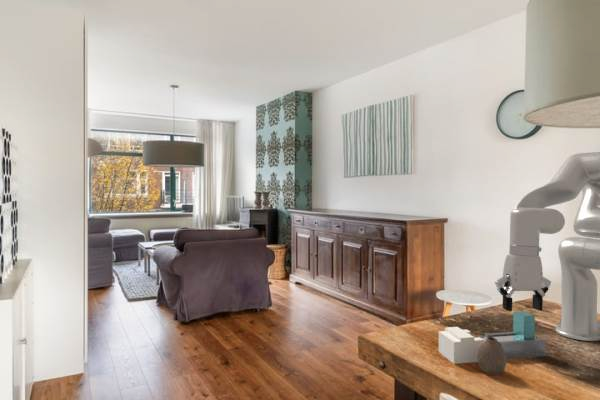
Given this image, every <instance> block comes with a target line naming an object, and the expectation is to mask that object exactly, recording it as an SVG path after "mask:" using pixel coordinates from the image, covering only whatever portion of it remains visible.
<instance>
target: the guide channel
mask: <svg viewBox="0 0 600 400" xmlns="http://www.w3.org/2000/svg"><path fill="white" fill-rule="evenodd" d="M512 335H513V331H505V332H493V333H492V332H491V333H484V337H498V336H512ZM546 342H547V341H546V339H544V338H535V339H527V340H514V341H501V342H498V343H499V344H500V346H501V347H502V348H503V350H504V352H505V354H506V360H512V359H513V360H514V359H525V358H527V359H528V358H537V357H538V358H539V357H547V352H546V345H547V344H546Z"/></svg>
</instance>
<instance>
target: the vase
mask: <svg viewBox="0 0 600 400" xmlns="http://www.w3.org/2000/svg"><path fill="white" fill-rule="evenodd" d="M477 360H478V362H477V364H478V366H479V368H480V369H481V370H482V371H483V372H484V373H485V374H487V375H489V376H490V375H491V376H499V375H500V374H502V373H503V372H504V371H505V369H506V367H507V359H506V354H505V352H504V350H503V348H502V347H501V346H500V344H499V343H498V341H497V339H496V338H494V337H487V338H486V340H485V342H484V343H483V344H482V345H481V346H480V347H479V349H478V353H477Z"/></svg>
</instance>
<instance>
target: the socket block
mask: <svg viewBox="0 0 600 400" xmlns="http://www.w3.org/2000/svg"><path fill="white" fill-rule="evenodd" d="M471 333H472V332H471V331H470V330H469V329H462V328H460V327H458V326H449V327H444V330H440V331H438V353H439V354H441V355H442V356H443V357H445V358H446V359H447V360H448V361H449V362H450V363H452V364H453V365H455V364H457V365H458V364H459V365H460V364H468V363H470V364H471V363H478V360H477V353H478V349H479V347H480V346H481V345H482V344H483V343H484V340H483V337H481V336H480V337H475V336H473V335H472V334H471Z"/></svg>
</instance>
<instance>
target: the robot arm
mask: <svg viewBox="0 0 600 400" xmlns="http://www.w3.org/2000/svg"><path fill="white" fill-rule="evenodd" d="M581 192H582V197H581V201H580V204H579V207H578V210H577V212H576V216H575V218H574V222H573V225H572V226H573V231H574V232H575V234H577V236H573V237H572V236H571V237H567V238H564V239H563V240H561V242H560V243H559V245H558V249H557V251H558V252H557V253H558V258H559V262H560V267H561V268H560V270H561V302H560V303H561V308H560V310H561V319H560V320H561V321H560V323H561V324H558V325H556V326H555V332H556V333H558V334H559V335H560V336H562V337H565V338H569V339H573V340H579V341H583V342H584V341H585V342H598V341H600V321H598V281H597V278H596V276H595V274H594V272H593V271H592V270H597V271H600V151H593V152H592V151H591V152H581V153H579V152H578V153H574V154H572V155H570V156H568V157H567V158H566V159H565V161H564V162H563V164H562V165H561V166H560V167H559V169H558V171H556V173H555V174H554V176H553V177H552V179H551V180H550V181H549V182H547V183H545V184H543V185H541V186H539V187H537V188H535V189H534V190H532V191H530V192H528V193H526V195H524V196H523V197H522V198H521V199H520V200H519V201H518V203H517V204H516V205H515V207H514V208H513V209H512V210H511V211H510V214H509V215H510V216H509V217H510V218H509V219H510V221H509V223H510V224H509V251H508V252H509V253H508V254H506V257H505V259H504V264H503V269H502V271H503V272H502V277H500V278H498V279H497V280H495V281H494V284H495V286H496V289H497V291H498V292H499V293H500V295H501V296H502V309H503V310H505V311H507V312H513V297H512V295H513V294H514V293H515V292H533V293H534V294H532V305H531V306H532V309H534V310H537V311H543V304H544V303H543V298H544V297H546V293H547V292H548V291H549V288H550V286H551V283H552V281H551V280H550V279H548V278H546V277H544V273H543V263H542V259H541V256H540V253H541V251H542V250H543V248H542V247H540V235H541V234H543V235H544V234H546V235H547V234H549V235H554V234H557V233H559V232H561V231H562V230H563V229H564V226H565V223H566V219H565V216H564V214H563V213H562V212H561V211H559V210H558V209H555V208H548V207H552V206H556V205H561V204H564V203H567V202H570V201H573V200H575V199H576V198H577V197H578V196H579V194H580V193H581ZM578 235H579V236H581V237H579V236H578Z"/></svg>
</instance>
